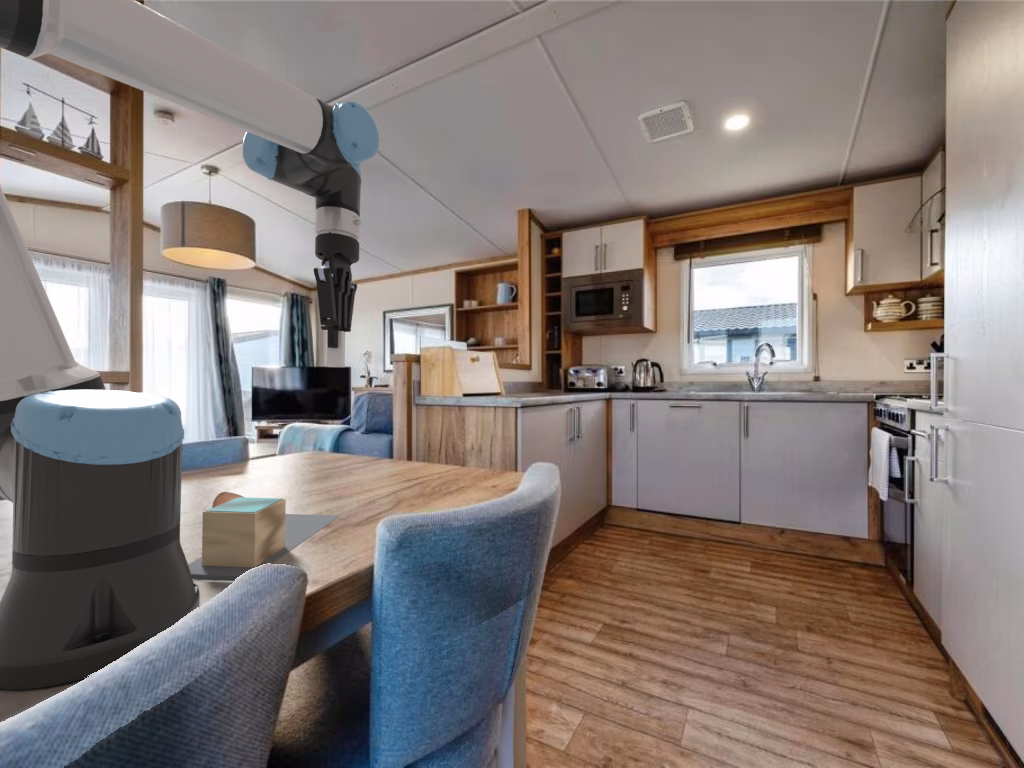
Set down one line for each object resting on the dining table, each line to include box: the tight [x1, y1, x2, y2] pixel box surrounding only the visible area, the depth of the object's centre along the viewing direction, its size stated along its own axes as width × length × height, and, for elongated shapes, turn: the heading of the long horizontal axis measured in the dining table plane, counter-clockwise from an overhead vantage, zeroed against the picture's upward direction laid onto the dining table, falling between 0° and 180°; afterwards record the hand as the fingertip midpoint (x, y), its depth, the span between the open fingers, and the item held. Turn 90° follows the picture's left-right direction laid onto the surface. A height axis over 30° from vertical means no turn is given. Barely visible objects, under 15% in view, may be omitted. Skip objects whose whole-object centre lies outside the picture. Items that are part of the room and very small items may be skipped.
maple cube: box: [201, 496, 287, 567], centre depth 59 cm, size 7×7×7 cm
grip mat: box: [188, 513, 340, 582], centre depth 66 cm, size 24×10×1 cm, turn 178°
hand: (335, 366), depth 79 cm, fingers closed
